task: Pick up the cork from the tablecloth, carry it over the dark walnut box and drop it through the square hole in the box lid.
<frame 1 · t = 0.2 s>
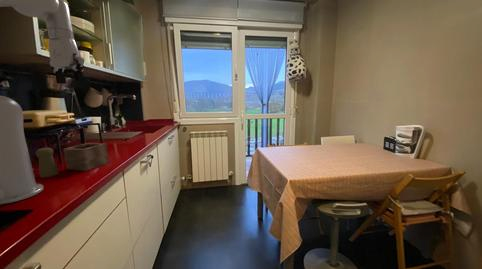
hand: (70, 82, 84), 36 cm above the table, tool pointing down, fingers open, 9 cm apart
cork: (49, 174, 87), on the table
walnut box: (88, 165, 96), on the table
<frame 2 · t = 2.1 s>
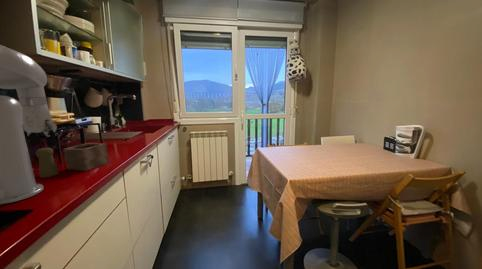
hand: (44, 145, 85), 12 cm above the table, tool pointing down, fingers open, 9 cm apart
nothing on the table moved.
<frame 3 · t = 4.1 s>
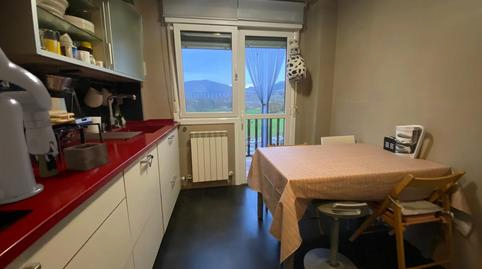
hand: (48, 169, 86), 2 cm above the table, tool pointing down, fingers closed on cork, 4 cm apart
cork: (49, 174, 87), on the table, touching gripper
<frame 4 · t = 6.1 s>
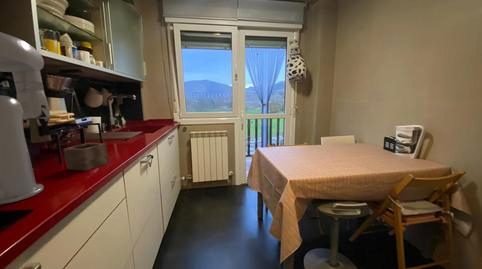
hand: (40, 135, 83), 16 cm above the table, tool pointing down, fingers closed on cork, 4 cm apart
cork: (41, 141, 84), point 14 cm above the table, touching gripper
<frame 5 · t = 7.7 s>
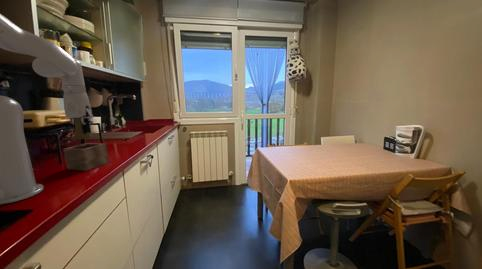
hand: (83, 132, 94), 15 cm above the table, tool pointing down, fingers closed on cork, 4 cm apart
cork: (84, 138, 94), point 13 cm above the table, touching gripper
when the fingers open (13 cm above the table, at t = 8.3 s): cork drops 10 cm, resting in walnut box.
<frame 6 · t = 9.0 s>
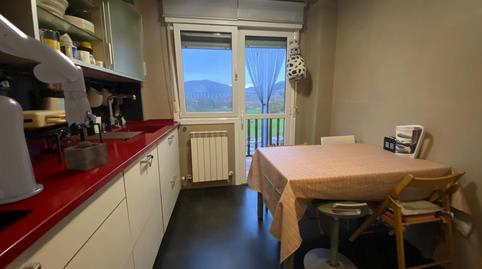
hand: (83, 135, 94), 14 cm above the table, tool pointing down, fingers open, 9 cm apart
cork: (88, 166, 96), resting in walnut box
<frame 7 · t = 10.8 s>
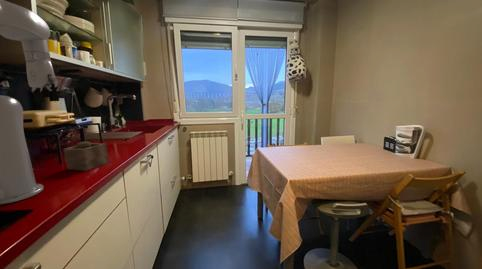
hand: (47, 101, 88), 29 cm above the table, tool pointing down, fingers open, 9 cm apart
nothing on the table moved.
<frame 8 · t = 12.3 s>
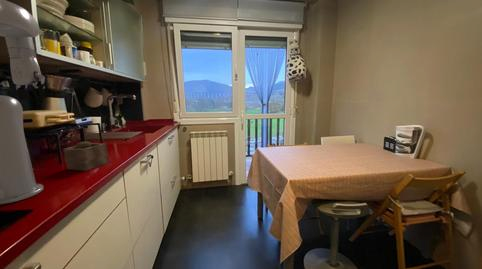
hand: (32, 99, 87), 30 cm above the table, tool pointing down, fingers open, 9 cm apart
nothing on the table moved.
at the end: cork 0.4 cm off-centre on the walnut box, point 0.0 cm above the walnut box's base; cork tilted 1°; the gripper is holding nothing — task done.
